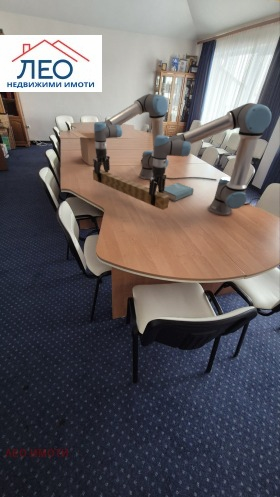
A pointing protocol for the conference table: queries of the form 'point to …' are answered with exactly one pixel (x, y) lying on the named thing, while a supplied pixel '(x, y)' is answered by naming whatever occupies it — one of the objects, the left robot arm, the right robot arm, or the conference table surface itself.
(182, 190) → the book
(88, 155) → the box
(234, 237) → the conference table surface
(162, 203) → the post
